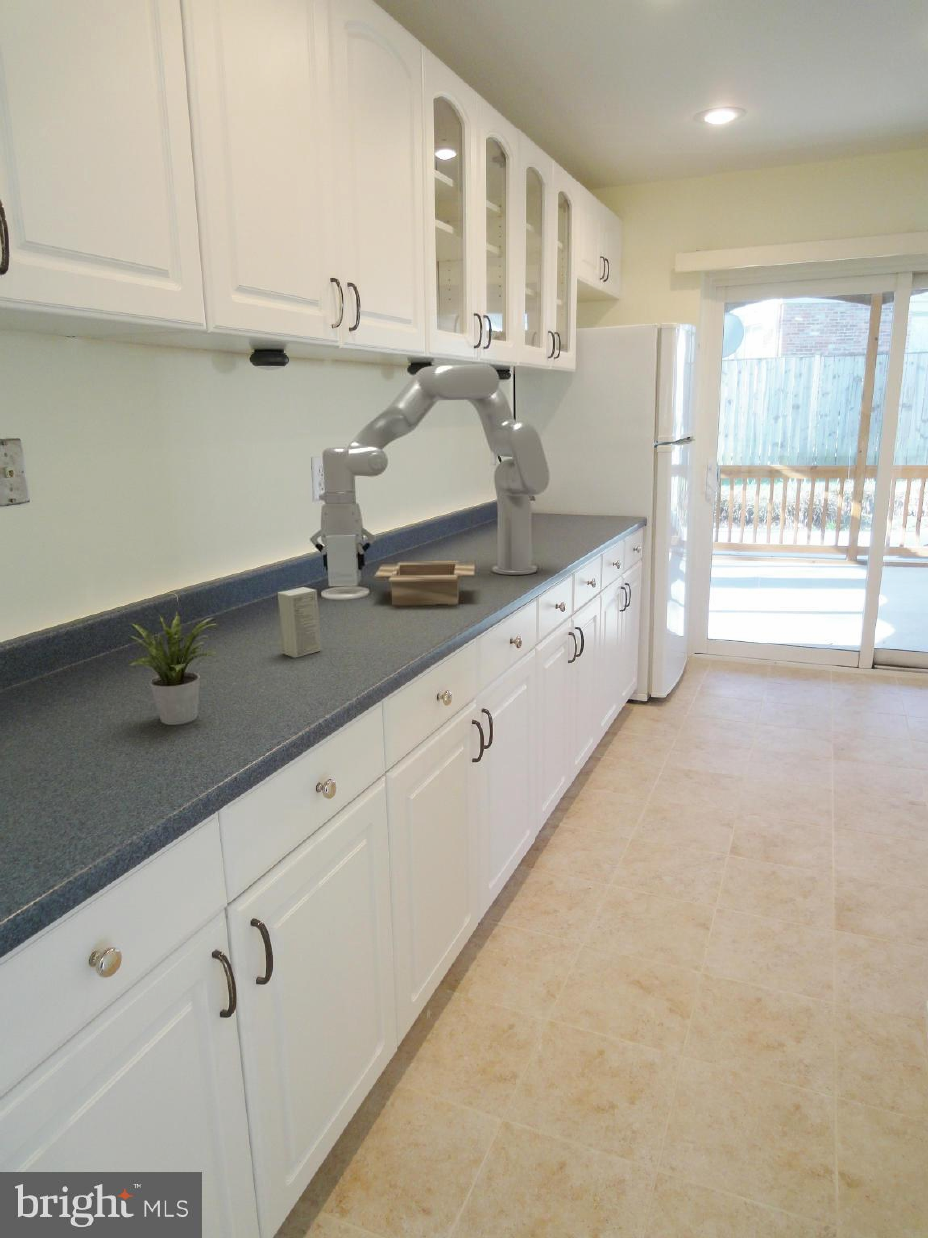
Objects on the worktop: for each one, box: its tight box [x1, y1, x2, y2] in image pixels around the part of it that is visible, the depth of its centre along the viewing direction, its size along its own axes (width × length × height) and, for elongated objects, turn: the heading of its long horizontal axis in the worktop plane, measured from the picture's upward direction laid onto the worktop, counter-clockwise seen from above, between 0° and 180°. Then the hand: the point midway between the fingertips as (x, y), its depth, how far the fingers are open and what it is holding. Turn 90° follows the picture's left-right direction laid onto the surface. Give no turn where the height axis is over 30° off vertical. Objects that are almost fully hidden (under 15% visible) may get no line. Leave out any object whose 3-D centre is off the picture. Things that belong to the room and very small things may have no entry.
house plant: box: [129, 611, 219, 726], centre depth 119 cm, size 14×14×16 cm
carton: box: [373, 560, 476, 606], centre depth 199 cm, size 24×24×7 cm
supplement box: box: [326, 535, 362, 587], centre depth 203 cm, size 7×7×13 cm
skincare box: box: [277, 586, 322, 659], centre depth 153 cm, size 6×4×12 cm
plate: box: [320, 586, 370, 601], centre depth 205 cm, size 12×12×1 cm
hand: (344, 568), depth 204 cm, fingers closed on supplement box, 7 cm apart
